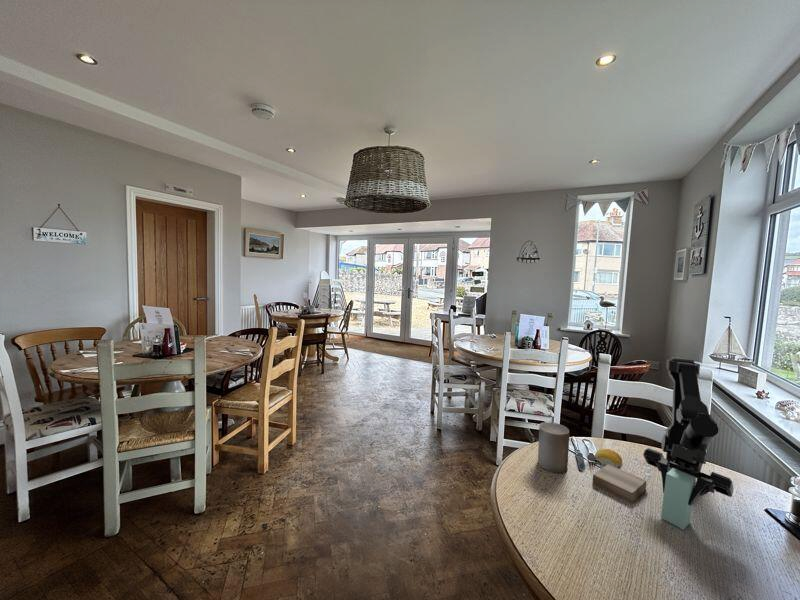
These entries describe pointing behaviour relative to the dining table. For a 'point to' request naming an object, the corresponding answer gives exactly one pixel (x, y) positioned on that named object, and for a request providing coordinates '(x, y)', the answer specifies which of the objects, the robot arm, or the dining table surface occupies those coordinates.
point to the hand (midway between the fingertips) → (676, 498)
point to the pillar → (677, 498)
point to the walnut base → (619, 482)
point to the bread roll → (608, 457)
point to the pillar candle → (553, 447)
